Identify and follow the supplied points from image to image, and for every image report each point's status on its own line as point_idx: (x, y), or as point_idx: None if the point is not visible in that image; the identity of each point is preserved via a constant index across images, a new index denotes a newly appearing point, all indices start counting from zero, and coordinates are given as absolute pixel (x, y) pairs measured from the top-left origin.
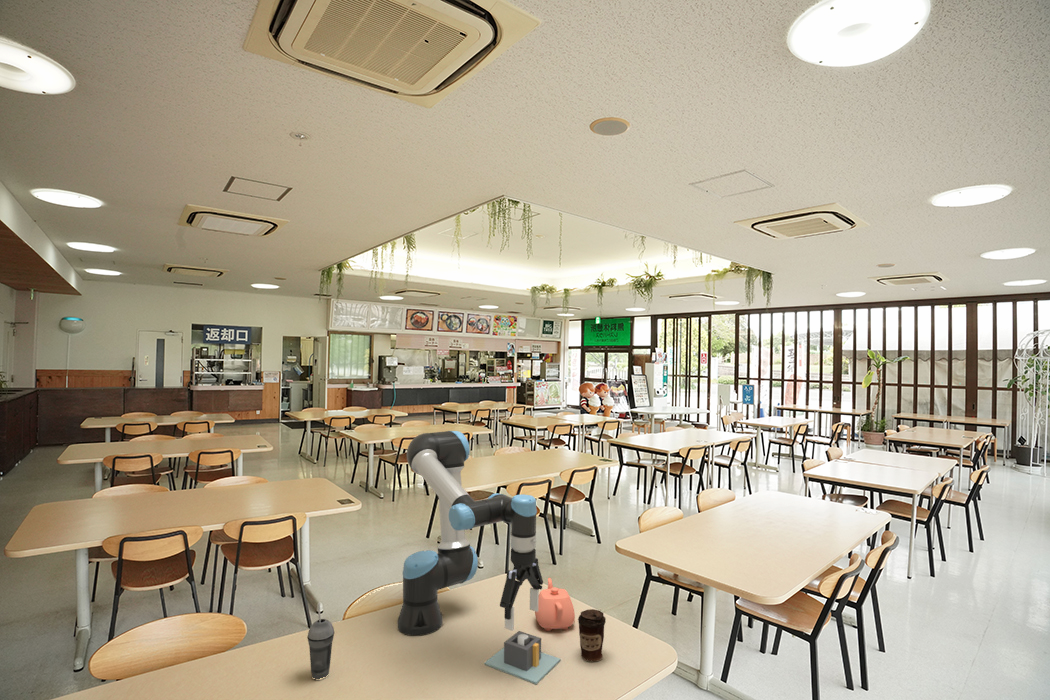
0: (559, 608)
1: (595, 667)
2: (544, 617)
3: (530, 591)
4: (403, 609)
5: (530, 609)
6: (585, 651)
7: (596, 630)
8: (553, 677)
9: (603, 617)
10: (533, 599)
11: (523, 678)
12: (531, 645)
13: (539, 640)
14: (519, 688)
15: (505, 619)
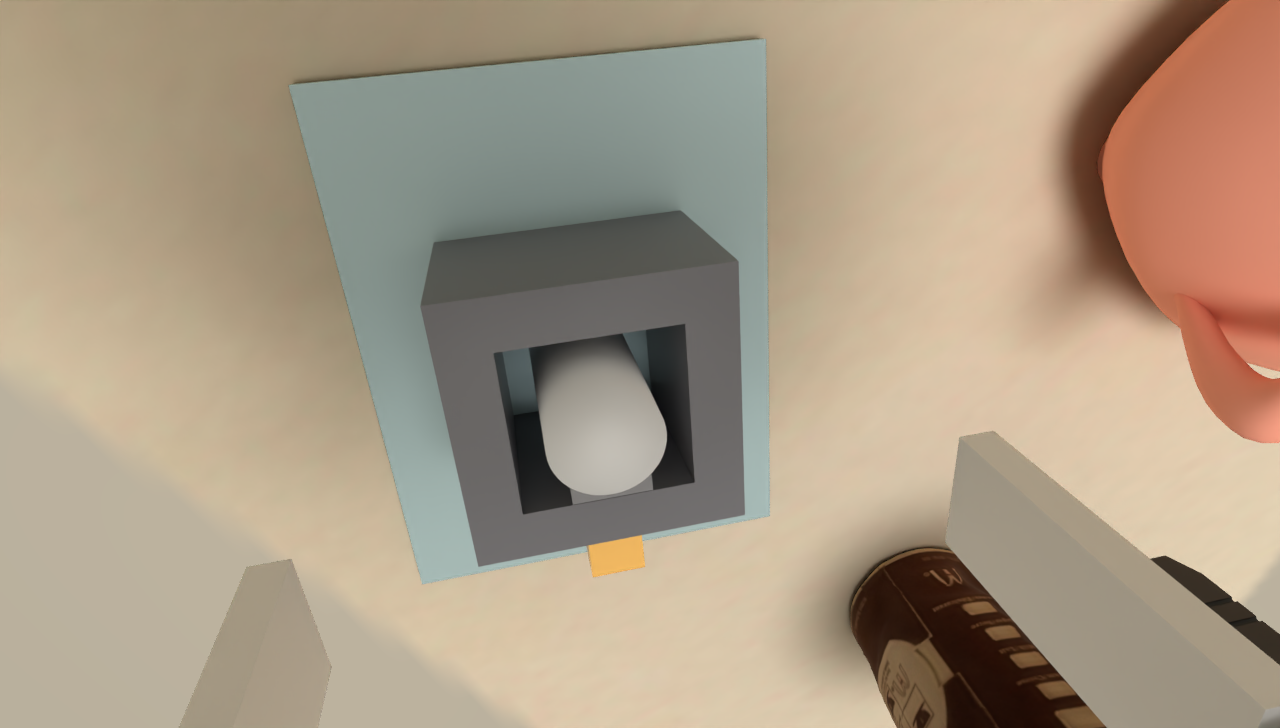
0: (1257, 431)
1: (817, 670)
2: (1175, 200)
3: (1201, 663)
4: None
5: (959, 453)
6: (878, 647)
7: None
8: (572, 589)
9: None
10: (1069, 612)
11: (397, 489)
12: (577, 540)
13: (711, 516)
14: (297, 529)
15: (204, 696)
